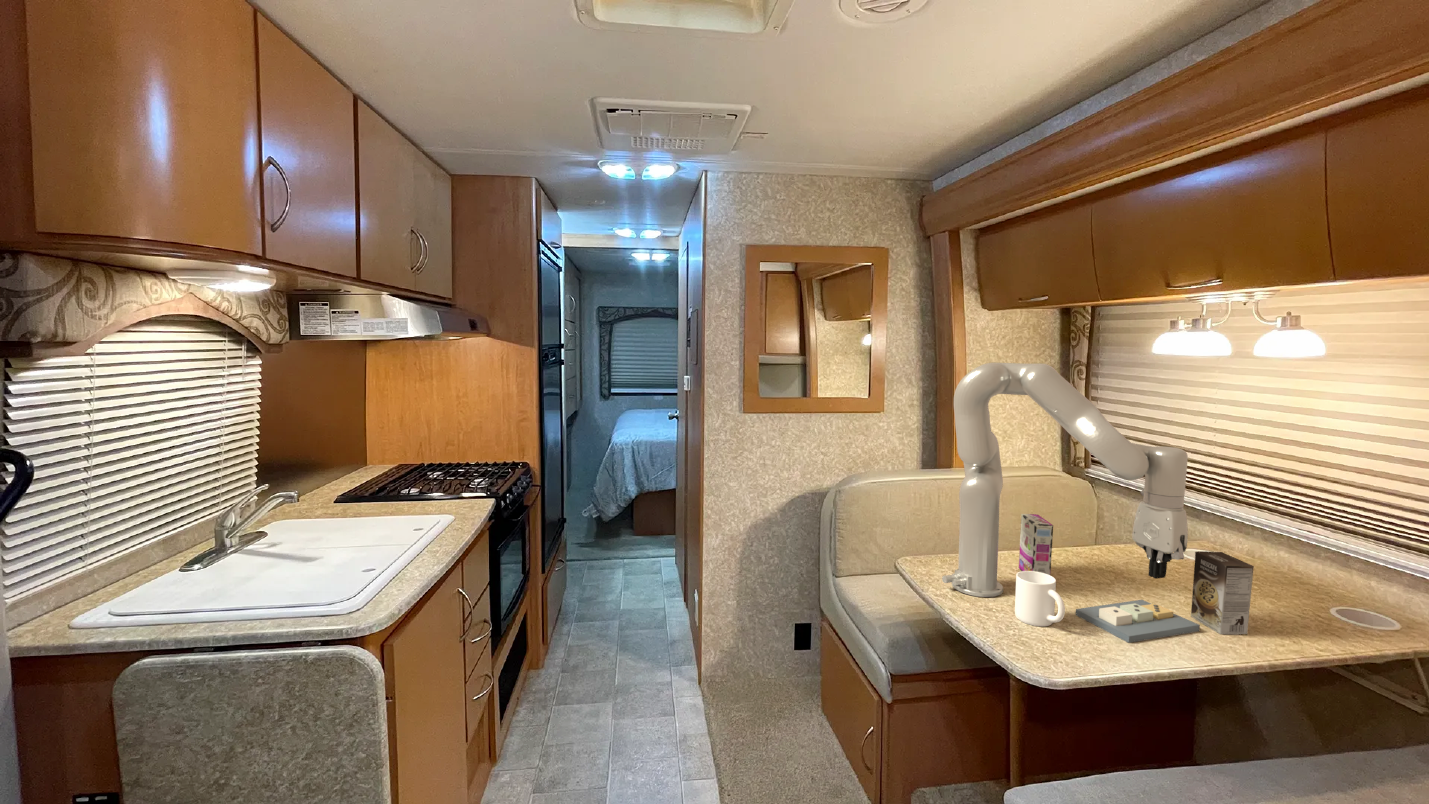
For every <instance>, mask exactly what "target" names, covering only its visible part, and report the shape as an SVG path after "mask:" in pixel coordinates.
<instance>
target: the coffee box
mask: <svg viewBox="0 0 1429 804" xmlns="http://www.w3.org/2000/svg"><path fill="white" fill-rule="evenodd" d="M1194 555H1195V556H1194V564H1193V565H1194V567H1193V568H1194V570H1193V583H1192V594H1191V595H1192V596H1191V608H1190V609H1191V610H1190V617H1191V618H1193V619H1194V620H1196V621H1198V622H1200V623H1201V624H1202V625H1204V626H1205V627H1207V628H1209V629H1211V630H1212V631H1214V632H1216V633H1218V634H1219V635H1239V634H1240V635H1241V634H1247V635H1248V631H1249V630H1248V628H1249V618H1250V607H1251V599H1252V590H1253V589H1252V588H1253V579H1254V578H1253V577H1254V569H1255V568H1254V565H1252V564H1250V563H1248V562H1245V561H1243V560H1241V559H1239V558H1237V557H1234V556H1232V555H1229V554H1227V553H1225V552H1223V551H1207V550H1206V551H1195V552H1194ZM1241 636H1242V635H1241Z"/></svg>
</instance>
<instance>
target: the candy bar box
mask: <svg viewBox="0 0 1429 804" xmlns="http://www.w3.org/2000/svg"><path fill="white" fill-rule="evenodd" d="M1020 516H1021V518H1020V532H1019V533H1020V538H1019V539H1020V541H1019V553H1018V554H1019V555H1018V556H1019V557H1018V569H1019V570H1020V572H1021V571H1036V572H1041V573H1045V574H1048V575H1050V576H1051V573H1052V572H1051V570H1052V569H1051V568H1052V555H1053V554H1052V553H1053V552H1052V551H1053V538H1054V537H1053V535H1054V525H1053V524H1052V523H1051V522H1049V521H1048V520H1046V519H1045V518H1044V517H1042V516H1041V515H1039V514H1033V513H1021V514H1020Z"/></svg>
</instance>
